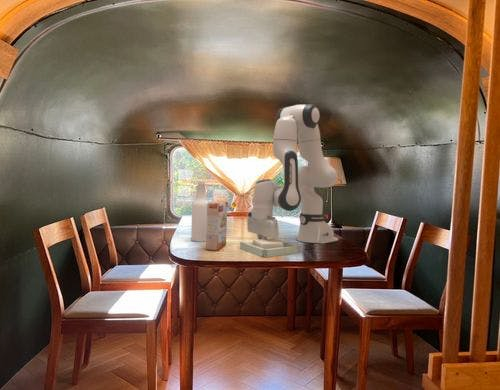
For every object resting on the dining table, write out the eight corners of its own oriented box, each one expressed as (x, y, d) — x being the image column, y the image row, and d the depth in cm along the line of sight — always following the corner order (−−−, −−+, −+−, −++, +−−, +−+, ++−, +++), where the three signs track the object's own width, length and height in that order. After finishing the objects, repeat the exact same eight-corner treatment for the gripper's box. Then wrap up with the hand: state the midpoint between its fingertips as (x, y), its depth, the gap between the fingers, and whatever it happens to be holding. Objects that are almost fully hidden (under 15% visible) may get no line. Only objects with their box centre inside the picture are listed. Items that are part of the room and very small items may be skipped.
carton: (272, 249, 156) (273, 238, 156) (283, 254, 147) (283, 243, 147) (252, 250, 153) (253, 239, 152) (261, 255, 143) (262, 244, 143)
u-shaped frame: (273, 244, 166) (273, 238, 165) (299, 252, 150) (299, 246, 149) (240, 248, 155) (240, 241, 155) (264, 257, 139) (264, 250, 139)
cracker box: (218, 251, 149) (219, 203, 147) (205, 250, 150) (206, 202, 149) (227, 244, 162) (228, 201, 161) (215, 244, 164) (215, 200, 162)
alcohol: (192, 238, 175) (193, 180, 174) (209, 239, 176) (210, 180, 174) (190, 242, 167) (191, 180, 165) (208, 242, 167) (209, 181, 165)
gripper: (282, 217, 149) (281, 248, 150) (256, 212, 167) (255, 240, 167) (270, 217, 146) (269, 249, 147) (245, 212, 163) (244, 241, 164)
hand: (262, 244), depth 157 cm, fingers closed
